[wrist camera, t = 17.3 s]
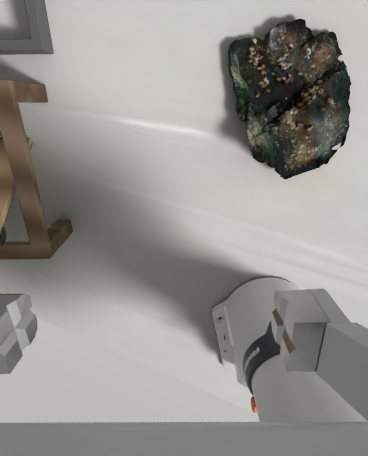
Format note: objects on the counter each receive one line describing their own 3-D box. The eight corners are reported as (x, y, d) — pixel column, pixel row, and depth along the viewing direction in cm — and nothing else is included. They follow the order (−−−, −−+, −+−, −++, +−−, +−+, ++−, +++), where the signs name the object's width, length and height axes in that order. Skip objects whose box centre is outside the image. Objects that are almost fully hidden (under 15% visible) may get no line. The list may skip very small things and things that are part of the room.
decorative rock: (204, 55, 31) (339, -35, 28) (205, 63, 37) (317, -10, 33) (272, 198, 37) (392, 141, 33) (264, 187, 43) (366, 136, 39)
